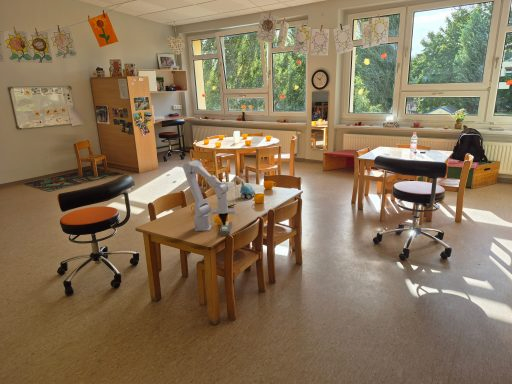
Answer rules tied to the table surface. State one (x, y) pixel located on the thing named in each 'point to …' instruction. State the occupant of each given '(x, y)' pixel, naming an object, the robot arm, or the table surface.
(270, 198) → the table surface
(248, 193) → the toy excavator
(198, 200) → the robot arm
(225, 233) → the grey button panel
